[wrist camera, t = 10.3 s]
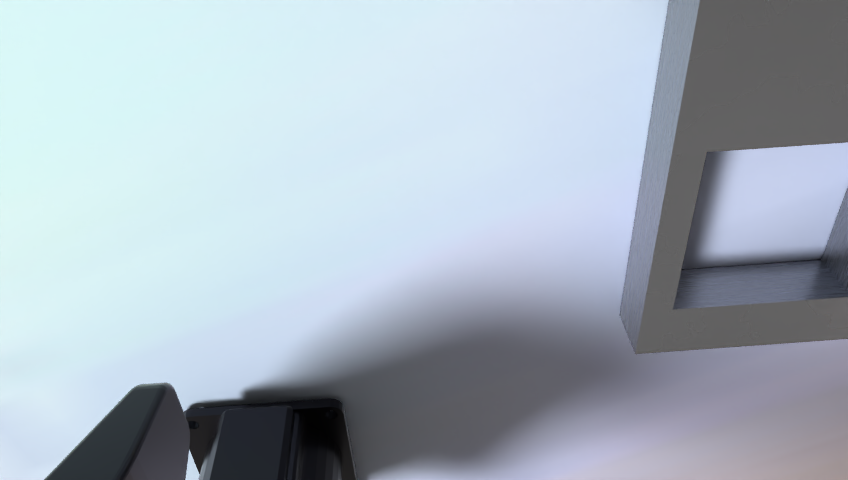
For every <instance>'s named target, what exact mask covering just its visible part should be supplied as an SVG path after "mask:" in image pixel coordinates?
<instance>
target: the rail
mask: <svg viewBox="0 0 848 480" xmlns="http://www.w3.org/2000/svg"><path fill="white" fill-rule="evenodd" d="M845 142H848V0H669V3H668V9H667V16H666V22H665V29H664V35H663V41H662V48H661V54H660V61H659V67H658V73H657V80H656V86H655V93H654V99H653V105H652V112H651V118H650V125H649V131H648V137H647V144H646V150H645V157H644V163H643V169H642V176H641V182H640V188H639V195H638V201H637V208H636V214H635V220H634V227H633V233H632V240H631V246H630V252H629V259H628V265H627V272H626V278H625V284H624V291H623V297H622V304H621V310H620V317H621V320H622V322H623V325H624V327H625V330H626V332H627V335H628V337H629V340H630V342H631V345H632V347H633V350H634V352H635V354H642V353H656V352H670V351H684V350H698V349H711V348H725V347H739V346H753V345H767V344H781V343H795V342H809V341H823V340H837V339H848V188H847V191H846V194H845V196H844V199H843V202H842V205H841V207H840V210H839V213H838V216H837V218H836V221H835V224H834V227H833V229H832V232H831V235H830V237H829V240H828V243H827V246H826V248H825V251H824V254H823V257H822V259H821V260H813V261H799V262H785V263H771V264H757V265H743V266H729V267H714V268H700V269H686V270H681V269H682V265H683V260H684V256H685V251H686V246H687V242H688V237H689V232H690V228H691V223H692V219H693V214H694V209H695V205H696V200H697V196H698V191H699V186H700V182H701V177H702V172H703V168H704V163H705V159H706V154H707V152H715V151H730V150H744V149H758V148H773V147H787V146H802V145H816V144H830V143H845Z"/></svg>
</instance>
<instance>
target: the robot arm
mask: <svg viewBox="0 0 848 480" xmlns="http://www.w3.org/2000/svg"><path fill="white" fill-rule="evenodd" d="M189 449H190V452H191V454H192V457H193V459H194V462H195V464H196V467H197V469H198V472H199V474H200V476H199V480H357V474H356V469H355V463H354V458H353V452H352V447H351V441H350V436H349V430H348V425H347V419H346V414H345V408H344V405H343V403H342V402H340V401H339V400H336V399H321V400H307V401H293V402H279V403H265V404H252V405H238V406H224V407H210V408H196V409H188V410H186V411H184V412H183V409H182V407H181V404H180V402H179V399H178V397H177V394H176V392H175V390H174V388H173V386H172V385H170V384H169V383H154V384H141V385H138V386H136V387H134V388H133V389H132V390H130V391H129V392H128V393H127V395H126V396H125V397H124V398H123V399H122V400H121V401H120V402H119V403H118V404H117V405H116V406H115V407H114V408H113V409H112V410H111V411H110V412H109V413H108V414H107V415H106V416H105V417H104V418H103V419H102V420H101V421H100V422H99V423H98V425H97V426H96V427H95V428H94V429H93V430H92V431H91V432H90V433H89V434H88V435H87V436H86V437H85V438H84V439H83V440H82V441H81V442H80V443H79V444H78V445H77V446H76V447H75V448H74V449H73V450H72V451H71V452H70V454H69V455H68V456H67V457H66V458H65V459H64V460H63V461H62V462H61V463H60V464H59V465H58V466H57V467H56V468H55V469H54V470H53V471H52V472H51V473H50V474H49V475H48V476H47V477H46V478H45V479H44V480H185V478H186V470H187V462H188V454H189Z"/></svg>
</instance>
